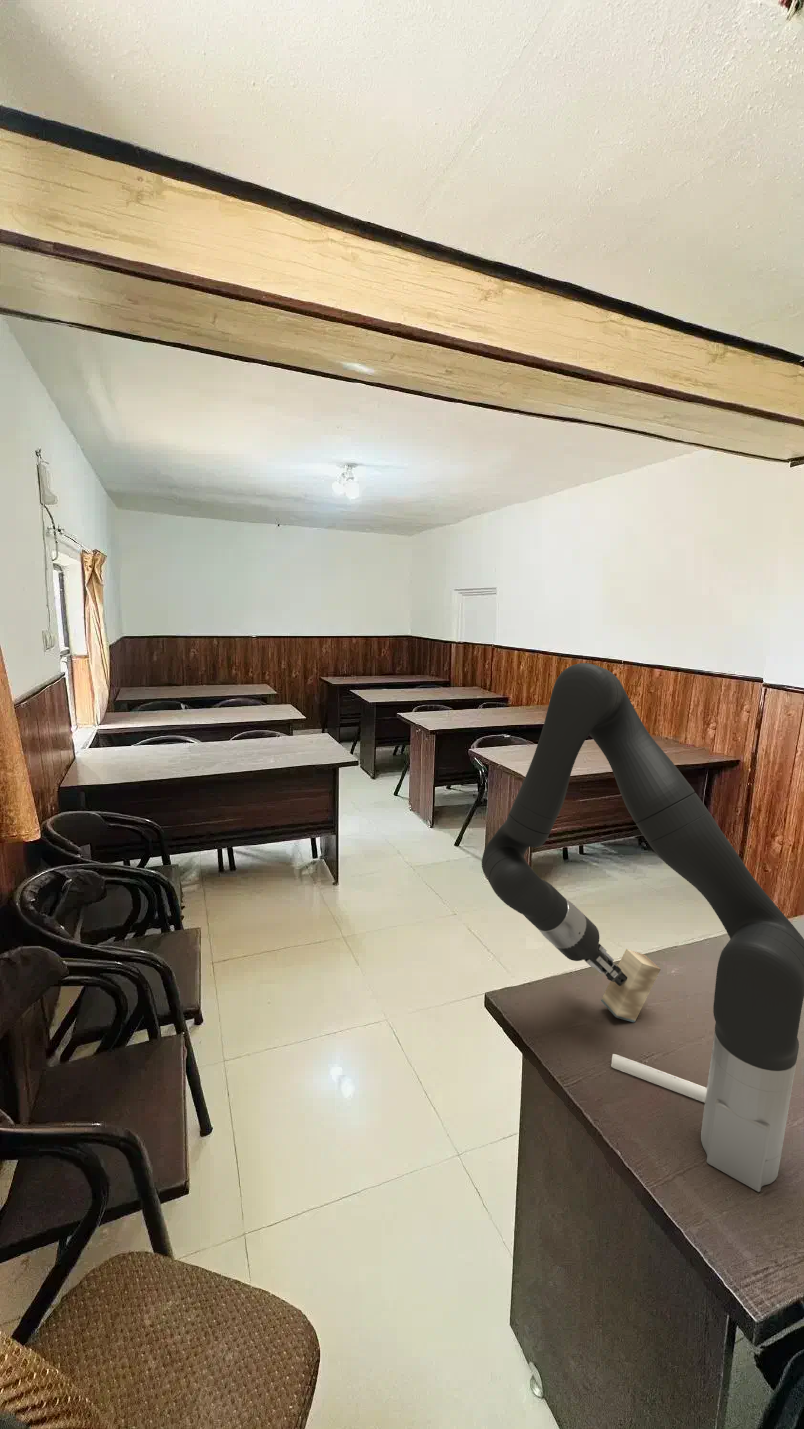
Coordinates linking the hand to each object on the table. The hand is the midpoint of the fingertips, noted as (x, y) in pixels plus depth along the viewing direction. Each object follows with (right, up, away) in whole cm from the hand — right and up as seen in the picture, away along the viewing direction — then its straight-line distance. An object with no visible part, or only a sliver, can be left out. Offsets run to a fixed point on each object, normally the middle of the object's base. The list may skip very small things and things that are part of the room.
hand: (621, 979), depth 101 cm
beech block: (0, -6, +1) cm, 7 cm away
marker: (+2, -11, -14) cm, 18 cm away
